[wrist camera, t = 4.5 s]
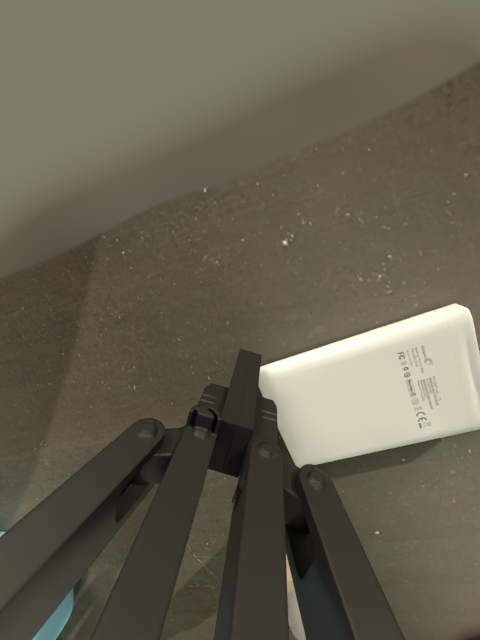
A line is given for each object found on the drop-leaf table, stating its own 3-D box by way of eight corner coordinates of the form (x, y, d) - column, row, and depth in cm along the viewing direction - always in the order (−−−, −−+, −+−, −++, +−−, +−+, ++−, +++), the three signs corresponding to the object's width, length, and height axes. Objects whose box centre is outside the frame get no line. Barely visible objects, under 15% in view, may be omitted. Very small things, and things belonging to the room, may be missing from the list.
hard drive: (255, 365, 18) (453, 301, 15) (296, 453, 20) (478, 413, 17) (253, 377, 17) (473, 309, 13) (297, 471, 19) (497, 431, 16)
